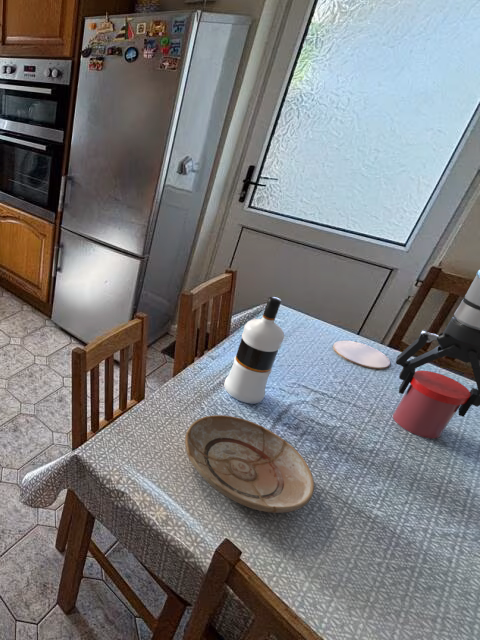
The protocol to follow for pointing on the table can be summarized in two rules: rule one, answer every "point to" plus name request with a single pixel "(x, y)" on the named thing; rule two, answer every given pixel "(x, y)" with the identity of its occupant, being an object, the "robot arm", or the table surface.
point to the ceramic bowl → (249, 464)
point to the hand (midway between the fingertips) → (430, 401)
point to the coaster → (361, 354)
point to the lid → (440, 387)
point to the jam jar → (423, 414)
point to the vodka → (255, 356)
